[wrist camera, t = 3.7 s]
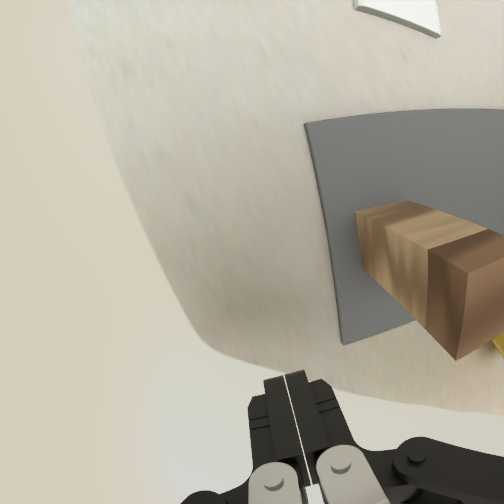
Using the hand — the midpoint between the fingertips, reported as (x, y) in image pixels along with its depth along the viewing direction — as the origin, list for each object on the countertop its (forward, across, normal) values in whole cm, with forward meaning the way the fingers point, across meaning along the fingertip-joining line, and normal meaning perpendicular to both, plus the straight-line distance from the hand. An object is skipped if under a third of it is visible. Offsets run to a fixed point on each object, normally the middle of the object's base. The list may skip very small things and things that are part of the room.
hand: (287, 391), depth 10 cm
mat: (+12, -18, 0) cm, 22 cm away
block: (+12, -10, 0) cm, 16 cm away
